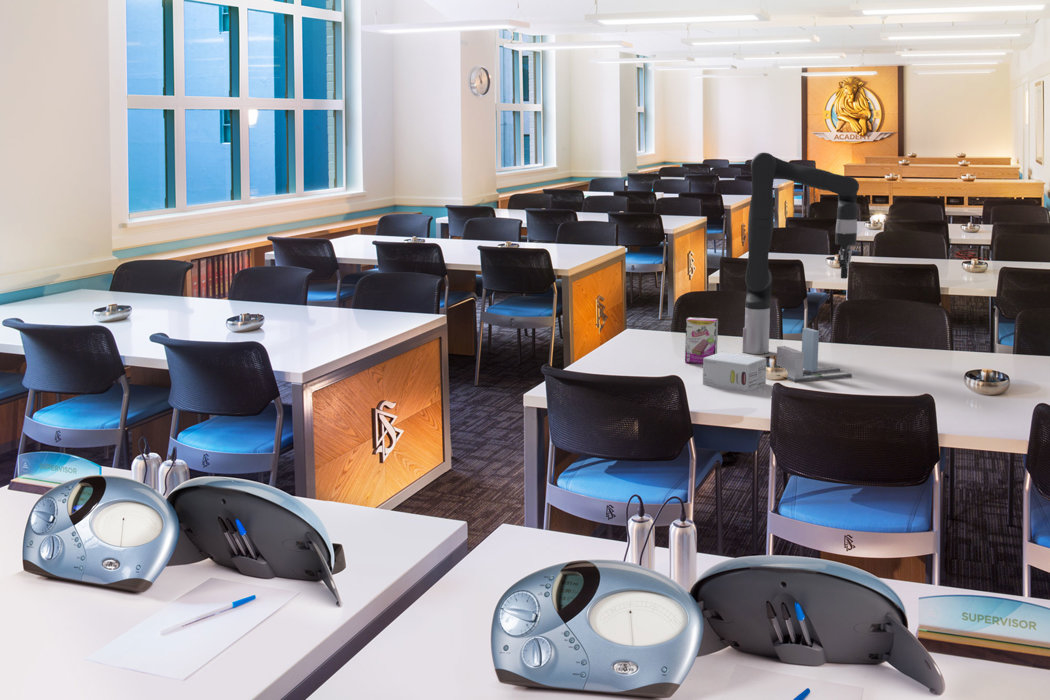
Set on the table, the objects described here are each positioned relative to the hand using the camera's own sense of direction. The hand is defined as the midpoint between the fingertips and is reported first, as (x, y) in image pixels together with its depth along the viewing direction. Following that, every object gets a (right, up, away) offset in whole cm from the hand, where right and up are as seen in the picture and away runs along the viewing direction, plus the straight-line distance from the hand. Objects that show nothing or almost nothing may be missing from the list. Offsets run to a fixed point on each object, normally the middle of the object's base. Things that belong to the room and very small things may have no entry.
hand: (844, 278), depth 379 cm
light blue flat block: (-20, -34, -29) cm, 49 cm away
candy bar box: (-54, -32, -4) cm, 63 cm away
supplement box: (-49, -39, -38) cm, 73 cm away
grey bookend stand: (-19, -36, -28) cm, 49 cm away
